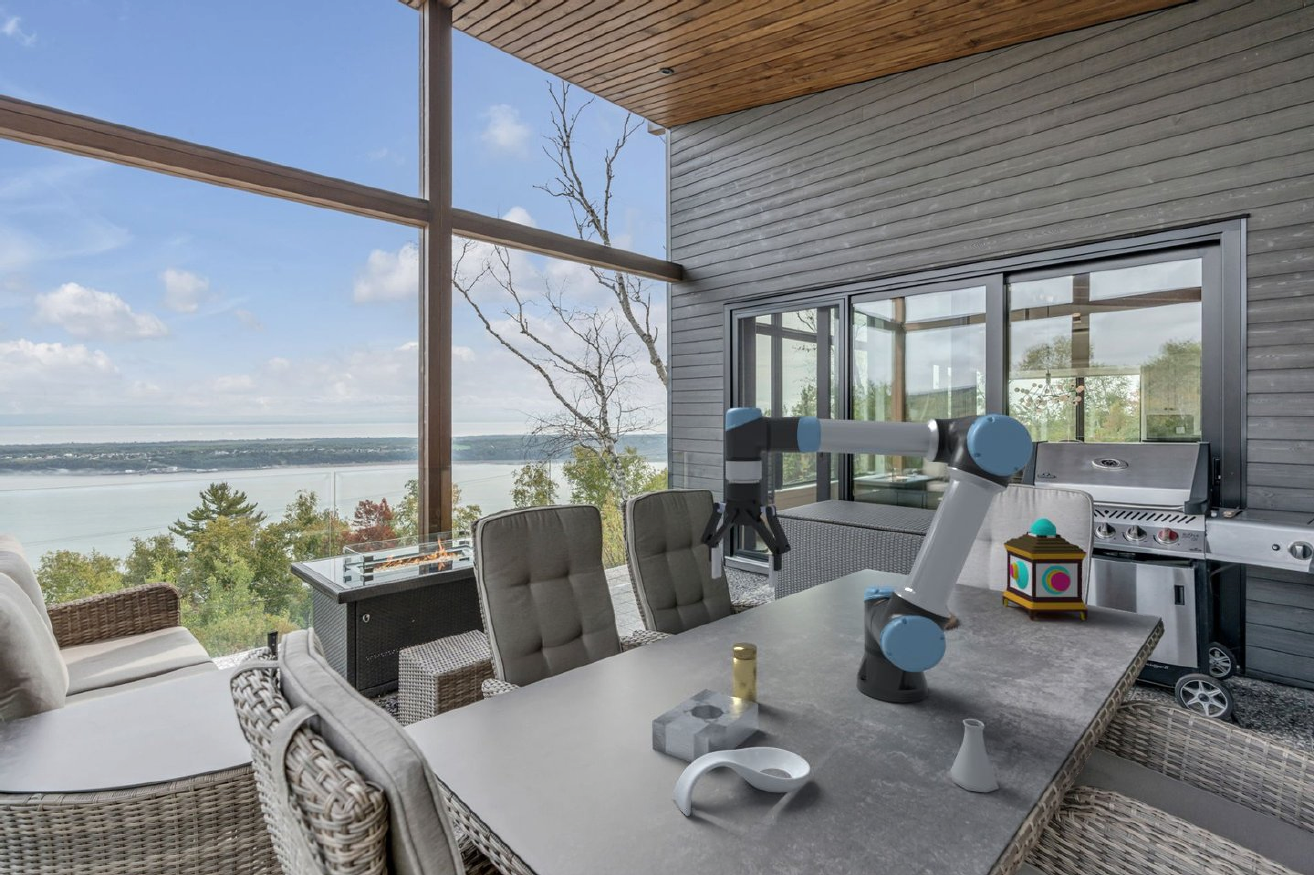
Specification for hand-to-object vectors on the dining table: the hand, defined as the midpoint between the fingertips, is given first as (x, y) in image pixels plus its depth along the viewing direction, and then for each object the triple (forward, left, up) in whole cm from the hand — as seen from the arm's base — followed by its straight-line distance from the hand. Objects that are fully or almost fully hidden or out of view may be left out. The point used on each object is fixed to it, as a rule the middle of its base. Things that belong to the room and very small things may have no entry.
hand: (744, 581), depth 138 cm
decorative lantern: (-42, -117, -27) cm, 127 cm away
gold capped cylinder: (0, 0, -27) cm, 27 cm away
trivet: (-10, -87, -27) cm, 92 cm away
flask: (-45, +3, -27) cm, 53 cm away
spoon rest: (-16, +28, -27) cm, 42 cm away
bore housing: (-2, +18, -27) cm, 32 cm away
